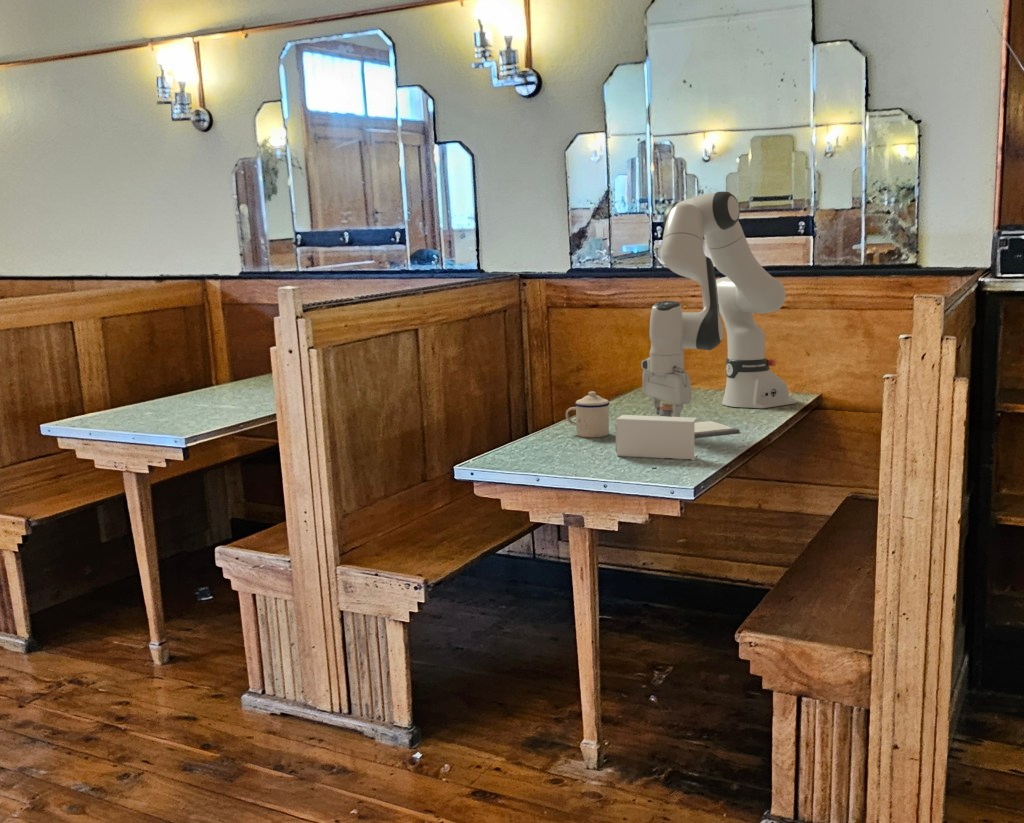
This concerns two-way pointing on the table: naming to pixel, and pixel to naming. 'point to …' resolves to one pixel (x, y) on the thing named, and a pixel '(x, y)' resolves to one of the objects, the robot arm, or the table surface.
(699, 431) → the whiteboard
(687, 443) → the cigarette display
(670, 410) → the cylinder
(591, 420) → the teacup with lid
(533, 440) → the table surface
